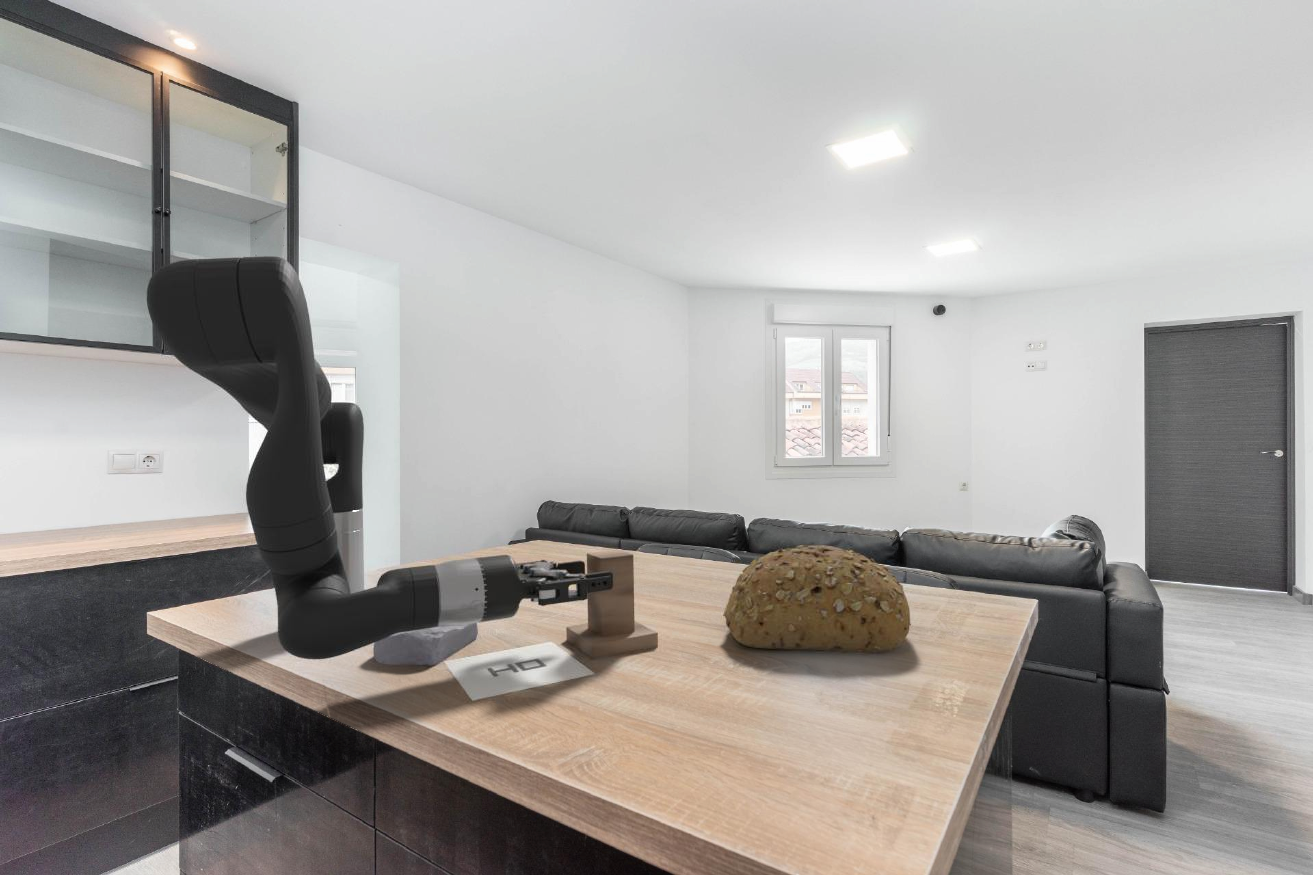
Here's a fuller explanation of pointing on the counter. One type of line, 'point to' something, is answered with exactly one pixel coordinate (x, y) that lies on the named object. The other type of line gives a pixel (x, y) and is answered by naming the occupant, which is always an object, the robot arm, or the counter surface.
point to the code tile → (515, 670)
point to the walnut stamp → (611, 611)
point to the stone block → (424, 645)
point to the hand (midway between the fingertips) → (597, 573)
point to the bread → (818, 602)
